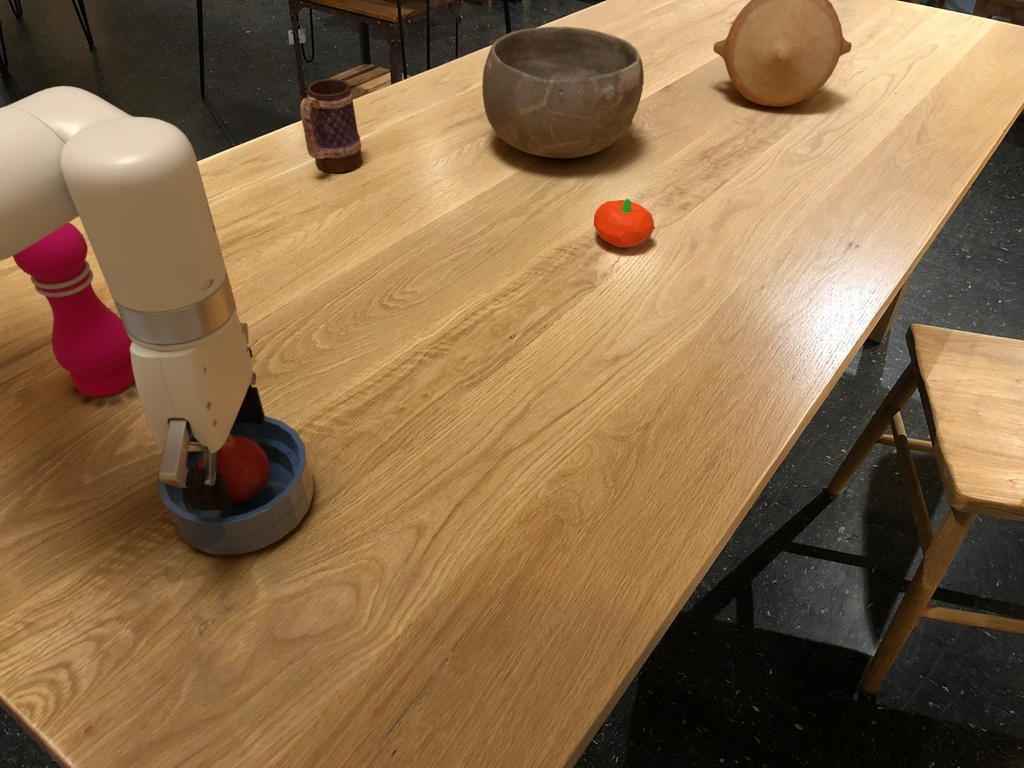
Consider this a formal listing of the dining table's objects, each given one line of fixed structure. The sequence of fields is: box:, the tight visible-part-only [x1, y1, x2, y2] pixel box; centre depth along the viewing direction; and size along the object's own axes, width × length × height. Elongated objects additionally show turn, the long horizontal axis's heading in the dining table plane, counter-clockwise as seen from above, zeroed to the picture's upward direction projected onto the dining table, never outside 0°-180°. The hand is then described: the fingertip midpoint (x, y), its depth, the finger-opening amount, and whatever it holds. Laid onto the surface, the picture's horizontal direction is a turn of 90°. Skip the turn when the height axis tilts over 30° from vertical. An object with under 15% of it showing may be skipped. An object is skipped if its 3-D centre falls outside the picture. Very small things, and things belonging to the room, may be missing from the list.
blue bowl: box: [157, 415, 315, 556], centre depth 67 cm, size 12×12×5 cm
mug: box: [300, 78, 363, 174], centre depth 111 cm, size 10×7×12 cm
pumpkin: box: [593, 198, 656, 249], centre depth 100 cm, size 7×8×6 cm
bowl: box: [481, 26, 645, 159], centre depth 117 cm, size 24×24×15 cm
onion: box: [198, 434, 270, 504], centre depth 66 cm, size 6×6×8 cm
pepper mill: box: [12, 222, 135, 397], centre depth 74 cm, size 7×7×20 cm
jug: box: [712, 0, 853, 108], centre depth 136 cm, size 20×19×30 cm
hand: (230, 461), depth 65 cm, fingers open, 9 cm apart
